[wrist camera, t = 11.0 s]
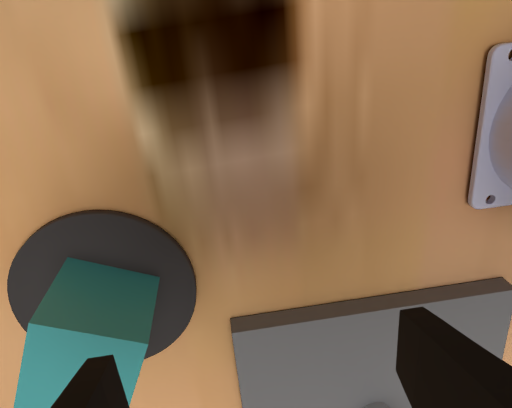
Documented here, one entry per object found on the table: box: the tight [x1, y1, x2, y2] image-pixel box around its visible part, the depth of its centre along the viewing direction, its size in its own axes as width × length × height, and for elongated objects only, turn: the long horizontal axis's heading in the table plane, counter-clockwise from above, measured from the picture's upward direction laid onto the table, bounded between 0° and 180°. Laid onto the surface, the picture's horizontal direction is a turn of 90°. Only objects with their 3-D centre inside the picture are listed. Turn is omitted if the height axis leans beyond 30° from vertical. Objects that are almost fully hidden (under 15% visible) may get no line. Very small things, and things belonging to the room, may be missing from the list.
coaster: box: [7, 210, 196, 359], centre depth 20 cm, size 9×9×1 cm
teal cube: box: [14, 257, 160, 408], centre depth 18 cm, size 4×4×5 cm
